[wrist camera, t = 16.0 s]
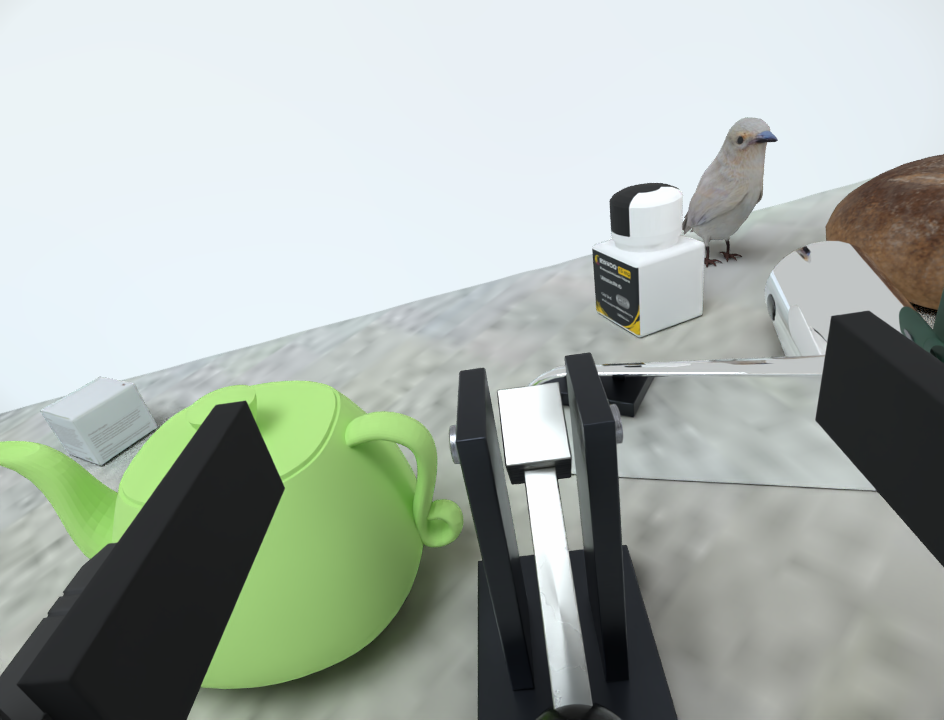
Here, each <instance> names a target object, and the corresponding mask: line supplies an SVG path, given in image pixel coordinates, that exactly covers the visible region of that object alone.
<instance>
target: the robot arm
mask: <svg viewBox="0 0 944 720" xmlns="http://www.w3.org/2000/svg"><path fill="white" fill-rule="evenodd" d="M815 421H816V422H817V423H818V424H819V425H820V426H821V427H822V429H823V430H824V431H825V432H826V433H827V434H828V435H829V437H830V438H831V439H832V440H833V441H834V442H835V443H836V445H837V446H838V447H839V448H840V449H841V450H842V451H843V453H844V454H845V455H846V456H847V457H848V458H849V459H850V461H851V462H852V463H853V464H854V465H855V466H856V467H857V469H858V470H859V471H860V472H861V473H862V474H863V475H864V477H865V478H866V479H867V480H868V481H869V482H870V483H871V485H872V486H873V487H874V488H875V489H876V490H877V491H878V493H879V494H880V495H881V496H882V497H883V498H884V499H885V501H886V502H887V503H888V504H889V505H890V506H891V507H892V509H893V510H894V511H895V512H896V513H897V514H898V515H899V517H900V518H901V519H902V520H903V521H904V522H905V523H906V525H907V526H908V527H909V528H910V529H911V530H912V531H913V533H914V534H915V535H916V536H917V537H918V538H919V539H920V541H921V542H922V543H923V544H924V545H925V546H926V547H927V549H928V550H929V551H930V552H931V553H932V554H933V555H934V557H935V558H936V559H937V560H938V561H939V562H940V563H941V565H942V566H943V567H944V363H943V362H941V361H940V360H939V359H937V358H936V357H934V356H933V355H932V354H930V353H929V352H927V351H926V350H924V349H923V348H922V347H920V346H919V345H917V344H916V343H914V342H913V341H912V340H910V339H909V338H907V337H906V336H905V335H903V334H902V333H900V332H899V331H897V330H896V329H895V328H893V327H892V326H890V325H889V324H887V323H886V322H885V321H883V320H882V319H880V318H879V317H878V316H876V315H875V314H873V313H872V312H870V311H862V312H855V313H848V314H841V315H834V316H831V320H830V327H829V333H828V340H827V346H826V353H825V359H824V366H823V372H822V379H821V385H820V392H819V398H818V405H817V411H816V418H815ZM284 490H285V487H284V484H283V482H282V480H281V478H280V475H279V473H278V471H277V469H276V466H275V464H274V462H273V460H272V457H271V455H270V453H269V451H268V448H267V446H266V444H265V442H264V439H263V437H262V435H261V433H260V430H259V428H258V426H257V424H256V421H255V419H254V417H253V415H252V412H251V410H250V408H249V406H248V403H247V401H239V402H232V403H225V404H218V405H215V406H214V408H213V409H212V410H211V412H210V413H209V415H208V416H207V417H206V419H205V420H204V422H203V423H202V424H201V426H200V427H199V429H198V430H197V431H196V433H195V434H194V436H193V437H192V438H191V440H190V441H189V443H188V444H187V445H186V447H185V448H184V450H183V451H182V453H181V454H180V455H179V457H178V458H177V460H176V461H175V462H174V464H173V465H172V467H171V468H170V469H169V471H168V472H167V474H166V475H165V476H164V478H163V479H162V481H161V482H160V483H159V485H158V486H157V488H156V489H155V490H154V492H153V493H152V495H151V496H150V497H149V499H148V500H147V502H146V503H145V505H144V506H143V507H142V509H141V510H140V512H139V513H138V514H137V516H136V517H135V519H134V520H133V521H132V523H131V524H130V526H129V527H128V528H127V530H126V531H125V533H124V534H123V535H122V537H121V538H120V540H119V541H118V542H117V543H109V544H107V545H106V546H105V547H104V548H103V549H101V550H100V551H99V552H98V553H97V554H96V555H95V556H94V557H92V558H91V559H90V560H89V561H88V562H87V563H86V564H84V565H83V566H82V567H81V569H80V570H79V571H78V573H77V574H76V575H75V577H74V578H73V579H72V581H71V582H70V583H69V585H68V586H67V587H66V589H65V590H64V591H63V593H64V595H63V597H59V598H58V600H57V601H56V602H55V604H54V605H53V606H52V608H51V609H50V610H49V612H48V617H47V618H43V620H42V621H41V622H40V624H39V625H38V626H37V628H36V629H35V630H34V632H33V633H32V634H31V636H30V637H29V638H28V640H27V641H26V642H25V644H24V645H23V646H22V648H21V649H20V650H19V652H18V653H17V654H16V656H15V657H14V658H13V660H12V661H11V663H10V664H9V665H8V667H7V668H6V669H5V671H4V672H3V673H2V675H1V676H0V720H187V717H188V715H189V713H190V710H191V708H192V706H193V703H194V701H195V699H196V696H197V694H198V692H199V689H200V687H201V685H202V682H203V680H204V678H205V675H206V673H207V670H208V668H209V666H210V663H211V661H212V659H213V656H214V654H215V652H216V649H217V647H218V645H219V642H220V640H221V638H222V635H223V633H224V631H225V628H226V626H227V624H228V621H229V619H230V617H231V614H232V612H233V610H234V607H235V605H236V602H237V600H238V598H239V595H240V593H241V591H242V588H243V586H244V584H245V581H246V579H247V577H248V574H249V572H250V570H251V567H252V565H253V563H254V560H255V558H256V556H257V553H258V551H259V549H260V546H261V544H262V541H263V539H264V537H265V534H266V532H267V530H268V527H269V525H270V523H271V520H272V518H273V516H274V513H275V511H276V509H277V506H278V504H279V502H280V499H281V497H282V495H283V492H284Z"/></svg>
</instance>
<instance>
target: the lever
mask: <svg viewBox="0 0 944 720" xmlns="http://www.w3.org/2000/svg"><path fill="white" fill-rule="evenodd" d="M497 395H498V404H499V413H500V422H501V431H502V440H503V448H504V457H505V466H506V469H507V472H508V475H509V478H510V481H511V484H521V483H525V487H526V494H527V502H528V510H529V518H530V526H531V534H532V541H533V549H534V557H535V565H536V573H537V581H538V588H539V596H540V604H541V612H542V620H543V628H544V635H545V643H546V651H547V659H548V667H549V675H550V682H551V690H552V698H553V706H551V707H549V708H548V709H546V710H545V711H543V712H542V713H541V714H540V715H539V716H538V717H537V718H536V719H535V720H622V719H621V718H620V717H619V716H618V715H616V714H615V713H614V712H613V711H611V710H609V709H608V708H606V707H604V706H602V705H600V704H598V703H594V702H592V697H591V691H590V684H589V678H588V671H587V665H586V658H585V652H584V646H583V639H582V633H581V626H580V620H579V613H578V607H577V601H576V594H575V588H574V581H573V575H572V568H571V562H570V555H569V549H568V543H567V536H566V530H565V523H564V517H563V510H562V504H561V498H560V491H559V485H558V479H563V478H570V477H571V469H572V455H571V449H570V443H569V437H568V431H567V425H566V419H565V414H564V408H563V402H562V396H561V390H560V384H559V382H554V383H547V384H539V385H532V386H524V387H517V388H510V389H502V390H498V391H497Z"/></svg>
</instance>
